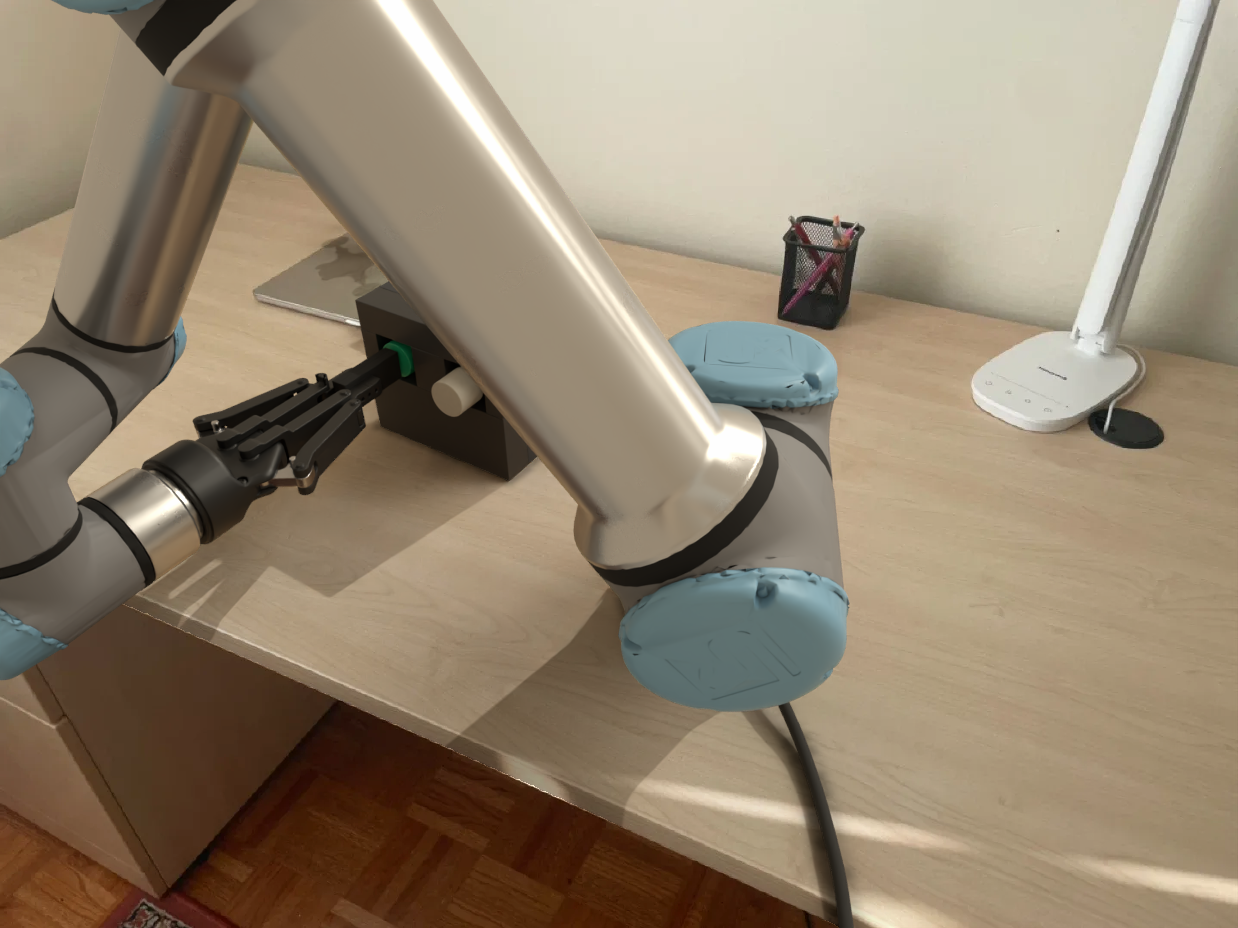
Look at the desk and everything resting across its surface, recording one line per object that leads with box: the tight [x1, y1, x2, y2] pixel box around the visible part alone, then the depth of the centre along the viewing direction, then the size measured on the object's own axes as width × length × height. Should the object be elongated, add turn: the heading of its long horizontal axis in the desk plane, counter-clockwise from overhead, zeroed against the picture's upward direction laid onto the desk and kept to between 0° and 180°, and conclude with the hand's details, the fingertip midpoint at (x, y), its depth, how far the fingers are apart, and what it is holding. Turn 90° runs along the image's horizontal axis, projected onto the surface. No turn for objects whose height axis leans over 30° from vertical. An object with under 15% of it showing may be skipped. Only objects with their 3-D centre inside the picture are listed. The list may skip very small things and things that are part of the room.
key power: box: [383, 340, 415, 377], centre depth 83 cm, size 3×3×3 cm
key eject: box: [432, 367, 483, 417], centre depth 79 cm, size 3×3×3 cm
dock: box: [354, 280, 538, 482], centre depth 85 cm, size 8×16×14 cm, turn 58°
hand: (393, 362), depth 82 cm, fingers closed
